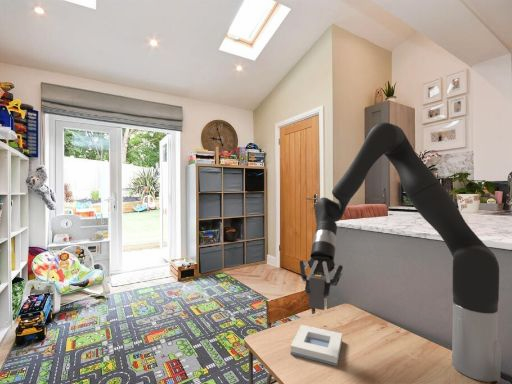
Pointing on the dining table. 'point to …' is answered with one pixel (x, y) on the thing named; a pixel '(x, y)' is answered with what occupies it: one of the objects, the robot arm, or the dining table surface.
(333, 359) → the dock
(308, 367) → the dining table surface
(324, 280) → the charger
